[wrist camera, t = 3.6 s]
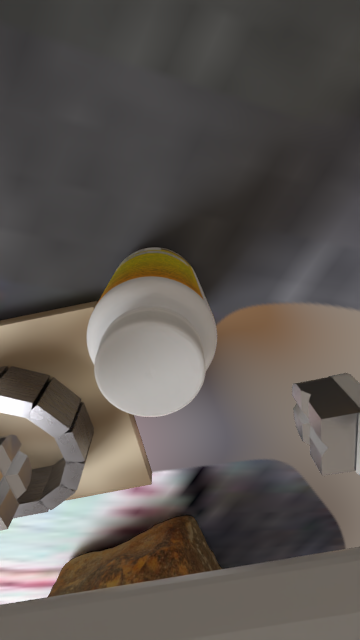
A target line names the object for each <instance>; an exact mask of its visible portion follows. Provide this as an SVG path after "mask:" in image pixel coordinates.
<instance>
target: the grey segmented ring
mask: <svg viewBox="0 0 360 640" xmlns="http://www.w3.org/2000/svg"><path fill="white" fill-rule="evenodd" d="M49 377H50V375H47V374H43V373H39V372H35V371H31V370H27V369H23V368H19V367H14V366H11V367H10V368H8V366H3V367H0V412H1V413H5V414H10V415H15V416H19V417H24V418H27V419H28V420H30V421H31V422H33V423H34V424H36V425H37V426H38V427H40V428H41V429H43V430H44V431H45V432H47V433H48V434H50V435H51V436H53V437H54V438H55V440H56V442H57V444H58V447H59V449H60V451H61V453H62V455H63V458H62V459H61V460H59V461H58V462H57V463H56V464H54V465H52V466H46V467H41V468H36V469H32V473H31V481H30V483H29V485H28V488H27V490H26V491H25V492H24V493H23V494H22V495H21V496H20V497H19V498H17V499H18V503H19V506H18V509H17V511H16V513H15V515H14V517H13V518H17V517H22V516H28V515H33V514H38V513H44V512H48V510H49V509H50V510H52V509H54V508H55V507H56V506H58V505H59V504H61V503H62V502H63V501H65V500H66V499H67V498H69V497H70V496H71V495H73V494H74V493H75V492H76V490H77V489H78V485H79V482H80V479H81V475H82V472H83V469H84V466H85V462H86V459H87V455H88V452H89V448H90V445H91V441H92V438H93V434H94V427H93V424H92V422H91V419H90V417H89V414H88V412H87V409H86V407H85V404H84V402H80V401H81V398H80V397H78V396H77V395H76V394H75V393H73V392H72V391H71V390H70V389H68V388H67V387H66V386H64V385H63V384H62V383H61V382H59V381H58V380H57V379H56V378H54V377H53V378H52V379H51V380H50V381H49Z"/></svg>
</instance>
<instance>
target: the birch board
mask: <svg viewBox="0 0 360 640" xmlns="http://www.w3.org/2000/svg"><path fill="white" fill-rule="evenodd" d="M97 303H98V302H97V301H94V302H89V303H84V304H79V305H74V306H69V307H64V308H59V309H54V310H50V311H45V312H40V313H35V314H30V315H25V316H20V317H15V318H10V319H6V320H1V321H0V367H3V366H8V368H10V367H11V366H14V367H19V368H23V369H27V370H31V371H35V372H39V373H43V374H47V375H50V377H49V381H50V380H51V379H52V378H53V377H54V378H56V379H57V380H58V381H59V382H61V383H62V384H63V385H64V386H66V387H67V388H68V389H70V390H71V391H72V392H73V393H75V394H76V395H77V396H78V397H80V398H81V401H80V402H84V404H85V407H86V409H87V412H88V414H89V417H90V419H91V422H92V424H93V427H94V434H93V438H92V441H91V445H90V448H89V452H88V455H87V459H86V462H85V466H84V469H83V472H82V475H81V479H80V482H79V485H78V489H77V490H76V492H75V493H74V494H73V495H71V496H70V497H69V498H67V499H66V500H70V499H76V498H81V497H86V496H92V495H97V494H102V493H108V492H113V491H118V490H124V489H129V488H134V487H140V486H145V485H150V484H152V471H151V468H150V464H149V461H148V458H147V455H146V452H145V449H144V446H143V443H142V439H141V436H140V433H139V430H138V427H137V424H136V421H135V418H134V415H132V414H129V413H127V412H124V411H122V410H120V409H118V408H117V407H115V406H114V405H113V404H111V403H110V402H109V401H108V400H107V399H106V398H105V397H104V395H103V394H102V392H101V391H100V389H99V387H98V385H97V382H96V379H95V373H94V364H93V362H92V360H91V357H90V355H89V351H88V347H87V327H88V323H89V320H90V317H91V314H92V312H93V310H94V308H95V306H96V304H97ZM10 434H12V435H16V436H17V437H18V439H19V441H20V442H21V444H22V445H21V448H20V452H22V453H24V454H25V455H27V456H28V458H29V460H30V462H31V468H32V469H36V468H41V467H46V466H52V465H54V464H56V463H57V462H58V461H59V460H61V459H62V458H63V455H62V453H61V451H60V449H59V447H58V444H57V442H56V440H55V438H54V437H53V436H51V435H50V434H48V433H47V432H45V431H44V430H43V429H41V428H40V427H38V426H37V425H36V424H34V423H33V422H31V421H30V420H28V419H27V418H24V417H19V416H15V415H10V414H5V413H1V412H0V436H4V435H10Z"/></svg>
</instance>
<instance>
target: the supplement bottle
mask: <svg viewBox="0 0 360 640" xmlns="http://www.w3.org/2000/svg"><path fill="white" fill-rule="evenodd" d="M216 345H217V330H216V325H215V320H214V317H213V314H212V312H211V309H210V307H209V305H208V302H207V300H206V297H205V295H204V292H203V290H202V288H201V285H200V283H199V280H198V278H197V276H196V273H195V272H194V270H193V268H192V267H191V265H190V264H189V263H188V262H187V261H186V260H185V259H184V258H183V257H182V256H180V255H179V254H177V253H175V252H173V251H171V250H169V249H165V248H158V247H152V248H145V249H141V250H139V251H136V252H134V253H132V254H131V255H129V256H128V257H127V258H126V259H125V260H124V261H123V262H122V263H121V264H120V265H119V267H118V268H117V270H116V271H115V273H114V275H113V277H112V278H111V280H110V282H109V284H108V285H107V287H106V289H105V290H104V292H103V294H102V296H101V298H100V299H99V301H98V303H97V304H96V306H95V308H94V310H93V312H92V314H91V317H90V320H89V323H88V327H87V347H88V351H89V355H90V357H91V360H92V362H93V364H94V373H95V379H96V382H97V385H98V387H99V389H100V391H101V392H102V394H103V395H104V397H105V398H106V399H107V400H108V401H109V402H110V403H111V404H113V405H114V406H115V407H117V408H118V409H120V410H122V411H124V412H127V413H129V414H132V415H137V416H142V417H157V416H164V415H167V414H170V413H173V412H176V411H178V410H180V409H181V408H183V407H184V406H186V405H187V404H188V403H190V402H191V401H192V400H193V399H194V398H195V396H196V395H197V394H198V392H199V391H200V389H201V387H202V384H203V382H204V378H205V372H206V370H207V369H208V367H209V365H210V363H211V361H212V359H213V357H214V354H215V350H216Z"/></svg>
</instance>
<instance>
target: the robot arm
mask: <svg viewBox="0 0 360 640" xmlns="http://www.w3.org/2000/svg"><path fill="white" fill-rule="evenodd" d="M292 396H293V397H294V399H295V401H296V402H297V404H296V405H295V407H294V408H293V410H294V420H295V424H296V428H297V430H298V433H299V435H300V437H301V439H302V441H303V442H304V443H306V444H307V445H309V446H310V455H311V457H312V459H313V460H314V462H315V464H316V466H317V467H318V469H319V471H320V473H321V474H322V475H330V474H337V473H343V472H351V471H356V473H358V474H359V475H360V383H359V382H358V381H357V380H356V379H355V378H354V377H353V376H351V375H350V374H348V373H343V374H338V375H333V376H329V377H327V378H321V379H316V380H311V381H306V382H300V383H294V384H293V386H292ZM21 445H22V444H21V442H20V441H19V439H18V437H17V436H16V435H12V434H10V435H4V436H0V530H5V529H8V527H9V525H10V523H11V521H12V519H13V517H14V515H15V513H16V511H17V509H18V506H19V503H18V499H17V498H19V497H20V496H21V495H22V494H23V493H24V492H25V491H26V490H27V488H28V485H29V483H30V481H31V473H32V468H31V462H30V460H29V458H28V456H27V455H25V454H24V453H22V452H20V448H21ZM0 640H360V547H355V548H349V549H343V550H337V551H331V552H324V553H318V554H312V555H306V556H300V557H294V558H287V559H281V560H275V561H269V562H263V563H257V564H251V565H245V566H239V567H232V568H226V569H220V570H214V571H208V572H202V573H196V574H190V575H184V576H177V577H171V578H165V579H159V580H153V581H146V582H140V583H134V584H128V585H121V586H115V587H109V588H103V589H96V590H90V591H84V592H78V593H72V594H65V595H59V596H53V597H47V598H40V599H34V600H28V601H22V602H16V603H9V604H3V605H0Z"/></svg>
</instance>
